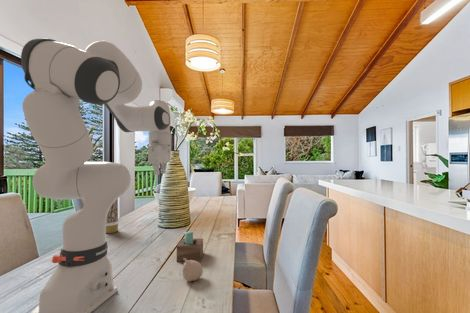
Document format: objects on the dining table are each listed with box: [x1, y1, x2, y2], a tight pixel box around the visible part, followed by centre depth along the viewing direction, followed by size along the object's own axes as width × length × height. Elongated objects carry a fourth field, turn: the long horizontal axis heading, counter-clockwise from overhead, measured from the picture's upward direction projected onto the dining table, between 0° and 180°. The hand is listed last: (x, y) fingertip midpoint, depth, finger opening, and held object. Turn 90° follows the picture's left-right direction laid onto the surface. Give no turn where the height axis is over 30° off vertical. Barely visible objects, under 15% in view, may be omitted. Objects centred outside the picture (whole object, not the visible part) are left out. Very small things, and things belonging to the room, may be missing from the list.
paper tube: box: [106, 198, 119, 234], centre depth 139 cm, size 7×7×25 cm
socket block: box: [176, 238, 204, 263], centre depth 103 cm, size 9×9×6 cm
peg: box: [184, 230, 194, 244], centre depth 103 cm, size 3×3×10 cm
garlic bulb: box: [182, 258, 204, 282], centre depth 84 cm, size 7×6×8 cm
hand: (160, 174), depth 107 cm, fingers open, 8 cm apart
